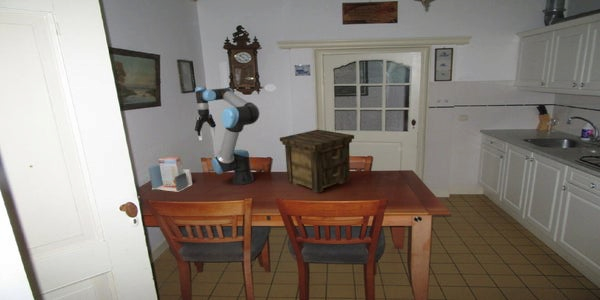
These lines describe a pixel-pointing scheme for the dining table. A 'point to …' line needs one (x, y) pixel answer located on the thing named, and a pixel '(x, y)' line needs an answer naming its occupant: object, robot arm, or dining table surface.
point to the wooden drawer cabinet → (317, 158)
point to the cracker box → (170, 170)
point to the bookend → (181, 181)
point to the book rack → (158, 183)
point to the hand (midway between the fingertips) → (207, 138)
